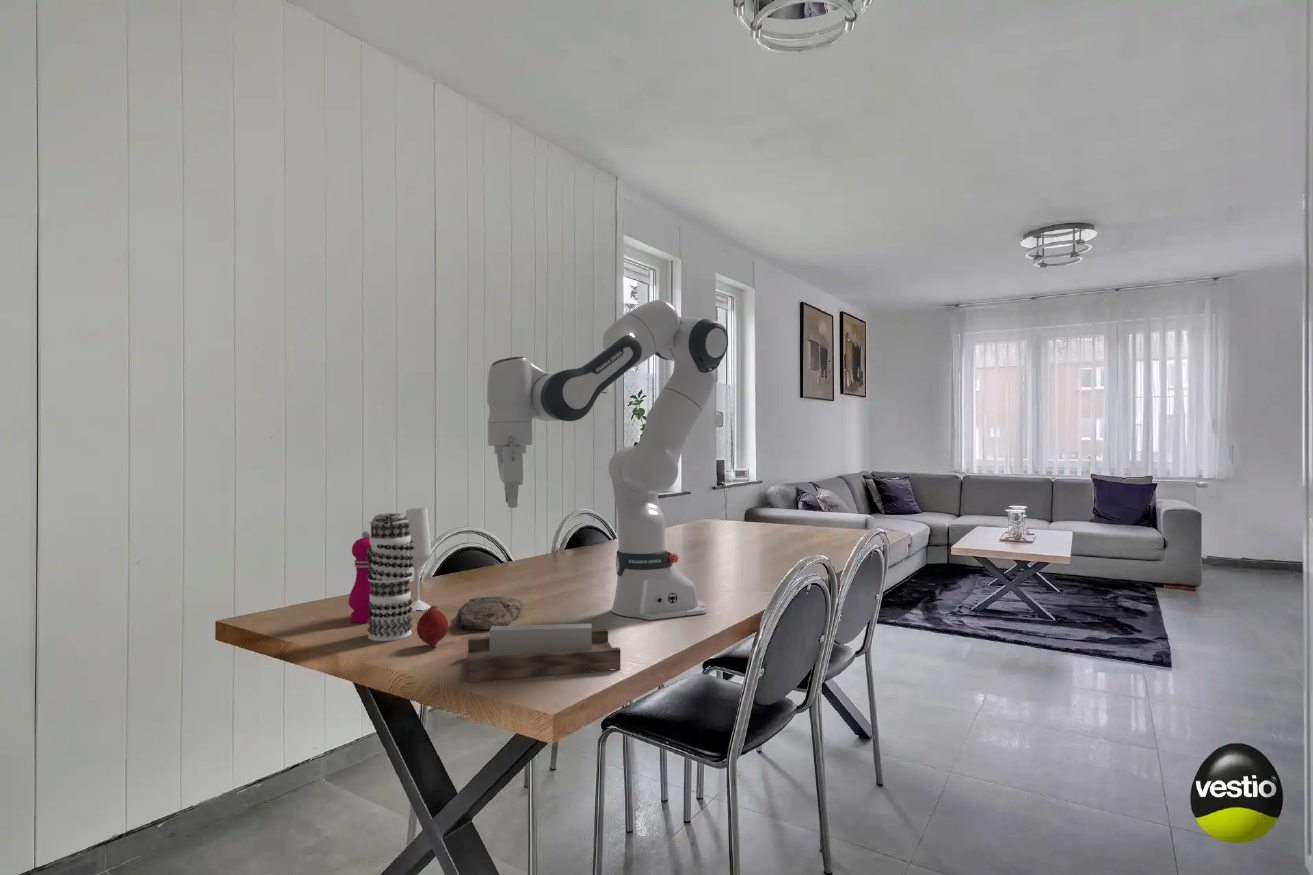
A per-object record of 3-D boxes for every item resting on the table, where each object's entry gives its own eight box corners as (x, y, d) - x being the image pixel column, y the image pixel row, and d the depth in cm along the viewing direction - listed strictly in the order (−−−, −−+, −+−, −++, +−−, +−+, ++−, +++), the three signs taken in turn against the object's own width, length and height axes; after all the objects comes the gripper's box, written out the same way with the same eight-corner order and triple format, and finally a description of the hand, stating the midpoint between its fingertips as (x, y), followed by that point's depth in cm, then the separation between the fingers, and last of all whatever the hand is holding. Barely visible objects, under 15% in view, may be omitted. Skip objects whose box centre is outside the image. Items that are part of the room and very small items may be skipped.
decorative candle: (423, 632, 146) (423, 513, 146) (390, 643, 138) (390, 517, 138) (390, 627, 150) (390, 511, 150) (356, 638, 141) (356, 515, 141)
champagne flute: (436, 608, 167) (436, 508, 168) (408, 612, 163) (408, 510, 163) (424, 603, 172) (424, 506, 173) (397, 607, 168) (397, 508, 168)
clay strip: (591, 650, 128) (591, 623, 128) (591, 655, 125) (591, 627, 125) (491, 653, 126) (491, 626, 126) (489, 658, 123) (489, 630, 123)
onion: (431, 652, 132) (431, 609, 132) (410, 647, 135) (410, 606, 135) (454, 644, 137) (454, 603, 137) (433, 640, 140) (433, 600, 140)
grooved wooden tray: (606, 646, 135) (606, 628, 135) (620, 669, 122) (620, 649, 122) (468, 656, 129) (468, 638, 129) (466, 681, 116) (466, 660, 116)
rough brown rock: (500, 635, 145) (529, 611, 165) (499, 612, 145) (528, 590, 165) (436, 635, 146) (472, 610, 166) (435, 611, 146) (471, 590, 166)
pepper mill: (341, 623, 154) (341, 532, 154) (361, 615, 161) (361, 528, 161) (371, 624, 152) (371, 533, 153) (389, 616, 160) (389, 529, 160)
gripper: (530, 436, 132) (531, 509, 131) (522, 437, 151) (523, 500, 151) (495, 437, 130) (497, 511, 130) (492, 437, 150) (493, 501, 150)
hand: (511, 505), depth 141 cm, fingers open, 8 cm apart
